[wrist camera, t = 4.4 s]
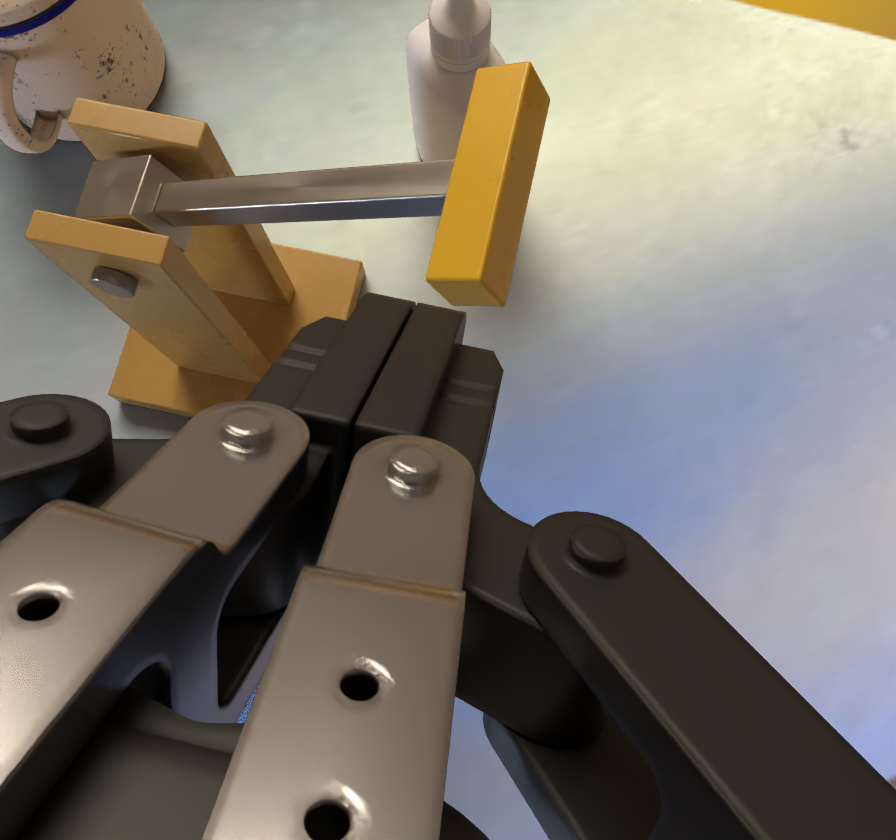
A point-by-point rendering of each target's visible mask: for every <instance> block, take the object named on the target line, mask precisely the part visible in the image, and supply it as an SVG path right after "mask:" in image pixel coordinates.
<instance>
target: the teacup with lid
mask: <svg viewBox="0 0 896 840" xmlns="http://www.w3.org/2000/svg"><path fill="white" fill-rule="evenodd" d="M164 66H165V55H164V49H163V45H162V41H161V39H160V36H159V34H158V32H157V30H156V28H155V26H154V24H153V22H152V21H151V19H150V17H149V15H148V13H147V11H146V9H145V7H144V6H143V4H142V2H141V0H0V139H1V140H2V141H3V142H4V143H5V144H6V145H7V146H9V147H10V148H12V149H14V150H16V151H19V152H23V153H42V152H45V151H47V150H49V149H50V148H51V147H52V146H53V145H54V144H55V142H56V140H57V139H60V140H67V141H81V140H80V138H79V137H78V136H77V135H76V134H75V132H74V131H73V130H72V129H71V127H70V126H69V125H68V119H69V116H70V113H71V111H72V108H73V105H74V103H75V100H76V98H83V99H88V100H93V101H99V102H104V103H109V104H114V105H120V106H125V107H130V108H135V109H140V110H146V109H147V107H148V106H149V105H150V104H151V102H152V101H153V99H154V98H155V96H156V94H157V92H158V90H159V87H160V85H161V82H162V79H163V74H164ZM18 118H19V119H20V120H21V121H22V122H23V123H24V124H26V125H27V126H28V127H30V128H31V131H30V133H28V132H27V131H26V130H25V129H24V127H23V126H22V124H21V123H20V121H19V119H18Z"/></svg>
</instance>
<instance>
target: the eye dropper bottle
mask: <svg viewBox="0 0 896 840" xmlns="http://www.w3.org/2000/svg"><path fill="white" fill-rule="evenodd" d="M428 14H429V15H428V18H429V19H427V20H425V21H424V22H422V23H421V24H419V25H418V26H417V27H415V28H414V29H413V30H412V31H411V32H410V34H409V35H408V37H407V41H406V61H407V73H408V83H409V93H410V103H411V112H412V122H413V131H414V137H415V141H416V145H417V148H418V151H419V153H420V156H421V158H422V160H423V161H436V160H448V159H455V157H456V153H457V149H458V145H459V141H460V137H461V133H462V129H463V124H464V120H465V116H466V112H467V108H468V104H469V100H470V96H471V92H472V88H473V84H474V80H475V76H476V72H477V70H478V69H479V68H486V67H493V66H500V65H505V63H504V61H503V59H502V57H501V55H500V54H499V52H498V51H497V49H496V48H495V46H494V45H493V44H492V43H491V41H490V33H491V9H490V6H489V3H488V1H487V0H434V1H432V4H431V6H430V9H429V13H428Z"/></svg>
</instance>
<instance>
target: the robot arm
mask: <svg viewBox="0 0 896 840" xmlns="http://www.w3.org/2000/svg"><path fill="white" fill-rule="evenodd" d="M465 323H466V312H462V311H457V310H452V309H447V308H442V307H437V306H433V305H428V304H423V303H418V304H417V305H416V303H415V302H413V301H408V300H403V299H398V298H393V297H389V296H384V295H379V294H374V293H369V292H367V293H366V294H365V295H364V296H363V298H362V299H361V301H360V302H359V304H358V305H357V307H356V308H355V310H354V311H353V313H352V314H351V316H350V317H349V319H348V320H342V319H337V318H332V317H328V316H326V317H323V318H321V319H319V320H317V321H315V322H313V323H311V324H309V325H306V326H304V327H302V328H301V329H300V330H299V331H298V333H297V334H296V335H295V337H294V338H293V339H292V340H291V342H290V343H289V344H288V348H285V349H284V351H283V352H282V353H281V355H280V356H279V357H278V358H277V362H276V363H275V362H274V364H273V365H272V366H271V367H270V369H269V370H268V371H267V373H266V374H265V375H264V376H263V378H262V379H261V380H260V382H259V383H258V384H257V385H256V387H255V388H254V389H253V391H252V392H251V393H250V394H249V396H248V397H247V398H246V400H245V401H232V402H226V403H221V404H218V405H214V406H211V407H209V408H206V409H204V410H203V411H201V412H199V413H198V414H196V415H195V416H194V417H193V418H191V419H190V420H189V421H188V422H187V423H186V424H185V425H184V426H183V427H182V428H181V429H180V430H179V431H178V432H177V433H176V434H175V435H174V436H173V437H172V438H171V439H112V431H111V422H110V418H109V416H108V414H107V413H106V411H105V410H104V409H103V408H102V407H100V406H99V405H97V404H96V403H94V402H92V401H89V400H87V399H84V398H80V397H76V396H70V395H61V394H41V395H32V396H26V397H21V398H16V399H12V400H8V401H4V402H0V840H489V839H488V838H487V836H486V835H485V834H484V833H483V832H482V831H480V830H479V829H478V828H477V827H476V826H475V825H474V824H473V823H472V822H470V821H469V820H468V819H467V818H466V817H465V816H464V815H463V814H461V813H460V812H459V811H457V810H456V809H455V808H453V807H452V806H450V805H449V804H448V803H446V802H445V801H443V800H444V791H445V782H446V773H447V764H448V754H449V745H450V736H451V727H452V718H453V709H454V700H455V696H456V697H458V698H459V699H461V700H463V701H465V702H466V703H468V704H470V705H472V706H473V707H475V708H477V709H479V710H480V711H482V712H484V713H483V723H484V729H485V732H486V735H487V738H488V739H489V741H490V743H491V745H492V747H493V748H494V750H495V752H496V753H497V755H498V757H499V758H500V760H501V761H502V763H503V765H504V766H505V768H506V770H507V771H508V773H509V774H510V776H511V778H512V779H513V781H514V783H515V784H516V786H517V787H518V789H519V791H520V792H521V794H522V795H523V797H524V799H525V800H526V802H527V804H528V805H529V807H530V808H531V810H532V812H533V813H534V815H535V817H536V818H537V820H538V821H539V823H540V825H541V826H542V828H543V830H544V831H545V833H546V834H547V836H548V838H549V839H550V840H896V790H895V789H894V788H893V787H892V786H891V785H890V784H889V783H888V782H887V781H886V780H885V779H884V778H883V777H882V776H881V775H880V774H879V773H878V772H877V771H876V770H875V769H874V768H873V767H872V766H871V765H870V764H869V763H868V762H867V761H866V760H865V759H864V758H863V757H862V756H861V755H860V754H859V753H858V752H857V751H856V750H855V749H854V748H853V747H852V746H851V745H850V744H849V743H848V742H847V741H846V740H845V739H844V738H843V737H842V736H841V735H840V734H839V733H838V732H837V731H836V730H835V729H834V728H833V727H832V726H831V725H830V724H829V723H828V722H827V721H826V720H825V719H824V718H823V717H822V716H821V715H820V714H819V713H818V712H817V711H816V710H815V709H814V708H813V707H812V706H811V705H810V704H809V703H808V702H807V701H806V700H805V699H804V698H803V697H802V696H801V695H800V694H799V693H798V692H797V691H796V690H795V689H794V688H793V687H792V686H791V685H790V684H789V683H788V682H787V681H786V680H785V679H784V678H783V677H782V676H781V675H780V674H779V673H778V672H777V671H776V670H775V669H774V668H773V667H772V666H771V665H770V664H769V663H768V662H767V661H766V660H765V659H764V658H763V657H762V656H761V655H760V654H759V653H758V652H757V651H756V650H755V649H754V648H753V647H752V646H751V645H750V644H749V643H748V642H747V641H746V640H745V639H744V638H743V637H742V636H741V635H740V634H739V633H738V632H737V631H736V630H735V629H734V628H733V627H732V626H731V625H730V624H729V623H728V622H727V621H726V620H725V619H724V618H723V617H722V616H721V615H720V614H719V613H718V612H717V611H716V610H715V609H714V608H713V607H712V606H711V605H710V604H709V603H708V602H707V601H706V600H705V599H704V598H703V597H702V596H701V595H700V594H699V593H698V592H697V591H696V590H695V589H694V588H693V587H692V586H691V585H690V584H689V583H688V582H687V581H686V580H685V579H684V578H683V577H682V576H681V575H680V574H679V573H678V572H677V571H676V570H675V569H674V568H673V567H672V566H671V565H670V564H669V563H668V562H667V561H666V560H665V559H664V558H663V557H662V556H661V555H660V554H659V553H658V552H657V551H656V550H655V549H654V548H653V547H652V546H651V545H650V544H649V543H648V542H647V541H646V540H645V539H644V538H643V537H642V536H641V535H639V534H638V533H637V532H635V531H634V530H632V529H631V528H630V527H628V526H626V525H624V524H622V523H620V522H618V521H616V520H614V519H611V518H609V517H605V516H602V515H599V514H594V513H589V512H578V511H573V512H562V513H556V514H553V515H550V516H548V517H546V518H544V519H542V520H541V521H540V522H538V523H537V524H536V525H535V526H534V527H533V526H531V525H529V524H527V523H524V522H522V521H520V520H518V519H516V518H515V517H513V516H511V515H509V514H508V513H506V512H505V511H503V510H502V509H500V508H499V507H498V506H497V505H496V504H495V503H494V502H493V501H492V500H491V499H490V498H489V497H488V496H487V494H486V493H485V491H484V489H483V488H482V485H481V482H480V477H481V473H482V469H483V465H484V461H485V457H486V452H487V447H488V443H489V438H490V433H491V428H492V423H493V419H494V414H495V409H496V404H497V399H498V394H499V390H500V385H501V380H502V375H503V369H502V367H501V365H500V363H499V361H498V359H497V357H496V355H495V353H494V351H490V350H485V349H480V348H476V347H471V346H466V345H462V341H463V335H464V329H465ZM259 682H260V683H259ZM258 684H259V686H258ZM257 686H258V688H257V691H256V694H255V697H254V699H253V702H252V705H251V707H250V710H249V713H248V716H247V718H246V721H245V723H236V722H237V721H238V719H239V717H240V715H241V714H242V712H243V710H244V708H245V707H246V705H247V703H248V701H249V700H250V698H251V696H252V694H253V693H254V691H255V689H256V687H257Z"/></svg>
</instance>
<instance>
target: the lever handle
mask: <svg viewBox="0 0 896 840" xmlns="http://www.w3.org/2000/svg"><path fill="white" fill-rule="evenodd" d="M549 103H550V97H549V95H548V93H547V92H546V90H545V88H544V86H543V84H542V82H541V80H540V79H539V77H538V75H537V73H536V71H535V69H534V67H533V66H532V64H531V63H530V62H521V63H514V64H507V65H500V66H493V67H486V68H479V69H478V70H477V72H476V76H475V80H474V84H473V88H472V92H471V96H470V100H469V104H468V108H467V112H466V116H465V120H464V124H463V129H462V133H461V137H460V141H459V145H458V149H457V153H456V157H455V159H448V160H436V161H423V162H411V163H398V164H386V165H374V166H361V167H349V168H336V169H324V170H311V171H299V172H287V173H274V174H262V175H249V176H237V177H224V178H212V179H200V180H187V181H185V180H184V179H182V178H181V177H180V176H178V175H177V174H176V173H174V172H173V171H172V170H171V169H169V168H168V167H167V166H165V165H164V164H163V163H161V162H160V161H159V160H157V159H156V158H155V157H153V156H152V155H144V156H135V157H126V158H116V159H107V160H97V161H94V162H93V165H92V167H91V170H90V173H89V176H88V179H87V181H86V184H85V187H84V190H83V193H82V195H81V198H80V201H79V204H78V207H77V209H76V212H75V215H74V217H75V218H80V219H85V220H90V221H95V222H100V223H105V224H109V225H114V226H119V227H124V228H129V229H134V230H139V231H144V232H149V233H154V234H159V235H164V236H169V237H170V238H171V239H172V240H173V242H174V243H175V244H176V245H177V247H178V248H179V249H180V250H181V252H185V251H186V248H187V245H188V242H189V239H190V236H191V233H192V230H193V227H194V226H208V225H232V224H256V223H280V222H305V221H329V220H353V219H377V218H401V217H425V216H441V218H440V222H439V226H438V230H437V234H436V238H435V242H434V246H433V250H432V254H431V259H430V263H429V267H428V271H427V275H426V281H427V282H428V283H429V284H430V285H431V286H432V287H433V288H434V289H435V290H436V291H438V292H439V293H440V294H441V295H442V296H443V297H444V298H445V299H446V300H447V301H448V302H449V303H450V304H451V305H454V306H500V307H502V306H504V305H505V302H506V298H507V293H508V289H509V284H510V280H511V275H512V271H513V266H514V262H515V257H516V253H517V248H518V244H519V239H520V234H521V230H522V225H523V221H524V216H525V212H526V207H527V203H528V198H529V194H530V189H531V185H532V180H533V176H534V171H535V167H536V162H537V158H538V153H539V149H540V144H541V139H542V135H543V130H544V126H545V121H546V117H547V112H548V108H549Z"/></svg>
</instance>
